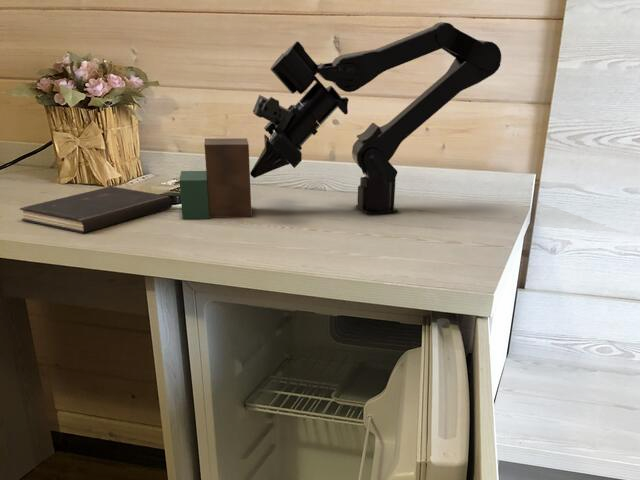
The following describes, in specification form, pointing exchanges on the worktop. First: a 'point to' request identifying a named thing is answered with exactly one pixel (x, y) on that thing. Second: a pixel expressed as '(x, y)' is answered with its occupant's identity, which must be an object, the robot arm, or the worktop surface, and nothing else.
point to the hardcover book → (95, 209)
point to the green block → (194, 195)
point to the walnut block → (228, 177)
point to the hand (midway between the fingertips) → (251, 175)
